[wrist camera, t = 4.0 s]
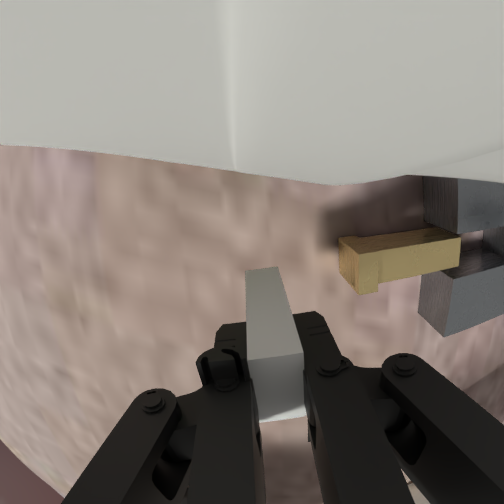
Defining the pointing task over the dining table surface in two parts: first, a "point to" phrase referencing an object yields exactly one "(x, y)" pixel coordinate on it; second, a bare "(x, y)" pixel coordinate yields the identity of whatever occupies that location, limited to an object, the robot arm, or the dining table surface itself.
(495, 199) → the socket block
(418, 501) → the lidded bowl
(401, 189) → the dining table surface
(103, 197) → the dining table surface
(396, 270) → the bar
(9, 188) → the dining table surface
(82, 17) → the milk carton
